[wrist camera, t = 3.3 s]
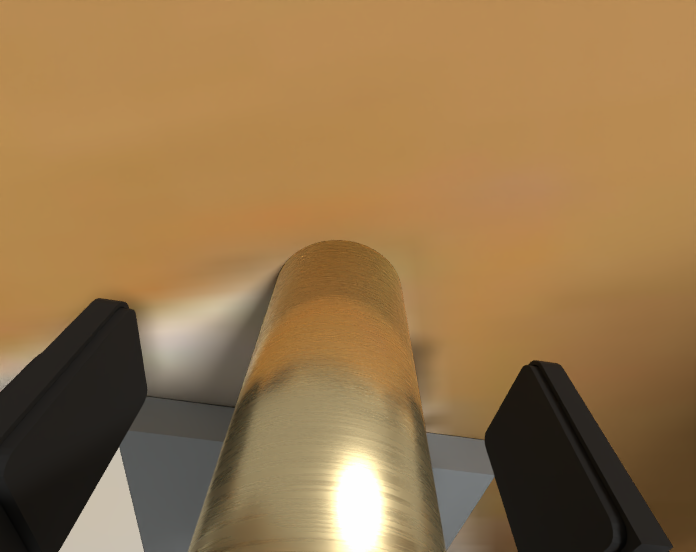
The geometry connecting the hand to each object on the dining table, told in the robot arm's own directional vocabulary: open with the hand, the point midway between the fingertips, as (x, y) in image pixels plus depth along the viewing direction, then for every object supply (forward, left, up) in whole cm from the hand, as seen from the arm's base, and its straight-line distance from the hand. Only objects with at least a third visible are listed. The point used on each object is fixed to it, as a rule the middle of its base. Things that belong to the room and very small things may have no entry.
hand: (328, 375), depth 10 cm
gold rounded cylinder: (0, 0, -3) cm, 3 cm away
